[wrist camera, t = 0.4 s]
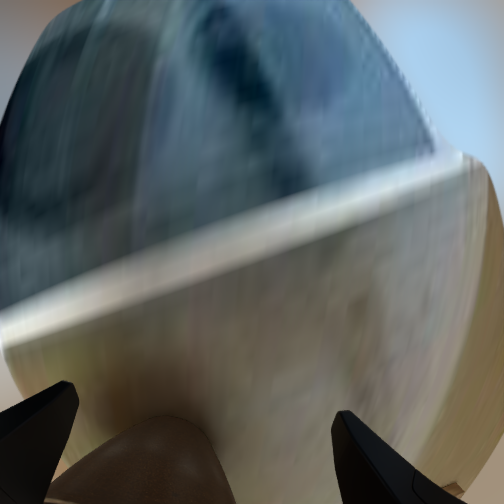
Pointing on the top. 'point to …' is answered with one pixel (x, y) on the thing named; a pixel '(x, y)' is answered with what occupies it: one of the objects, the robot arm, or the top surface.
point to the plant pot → (147, 469)
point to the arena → (454, 490)
